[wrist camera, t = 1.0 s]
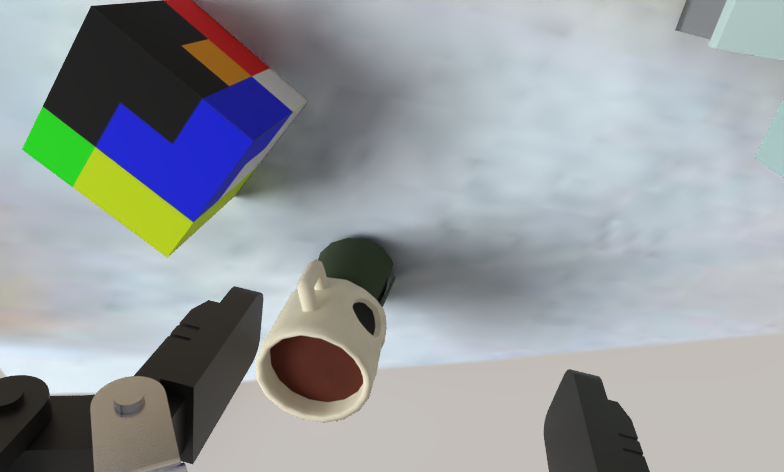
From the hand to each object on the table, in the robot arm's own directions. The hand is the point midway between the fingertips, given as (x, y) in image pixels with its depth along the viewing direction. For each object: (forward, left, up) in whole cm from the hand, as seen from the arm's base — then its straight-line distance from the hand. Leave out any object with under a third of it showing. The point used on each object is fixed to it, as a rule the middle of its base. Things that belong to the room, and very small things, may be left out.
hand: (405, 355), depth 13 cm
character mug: (+13, -5, -25) cm, 29 cm away
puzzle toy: (+2, -17, -25) cm, 30 cm away
